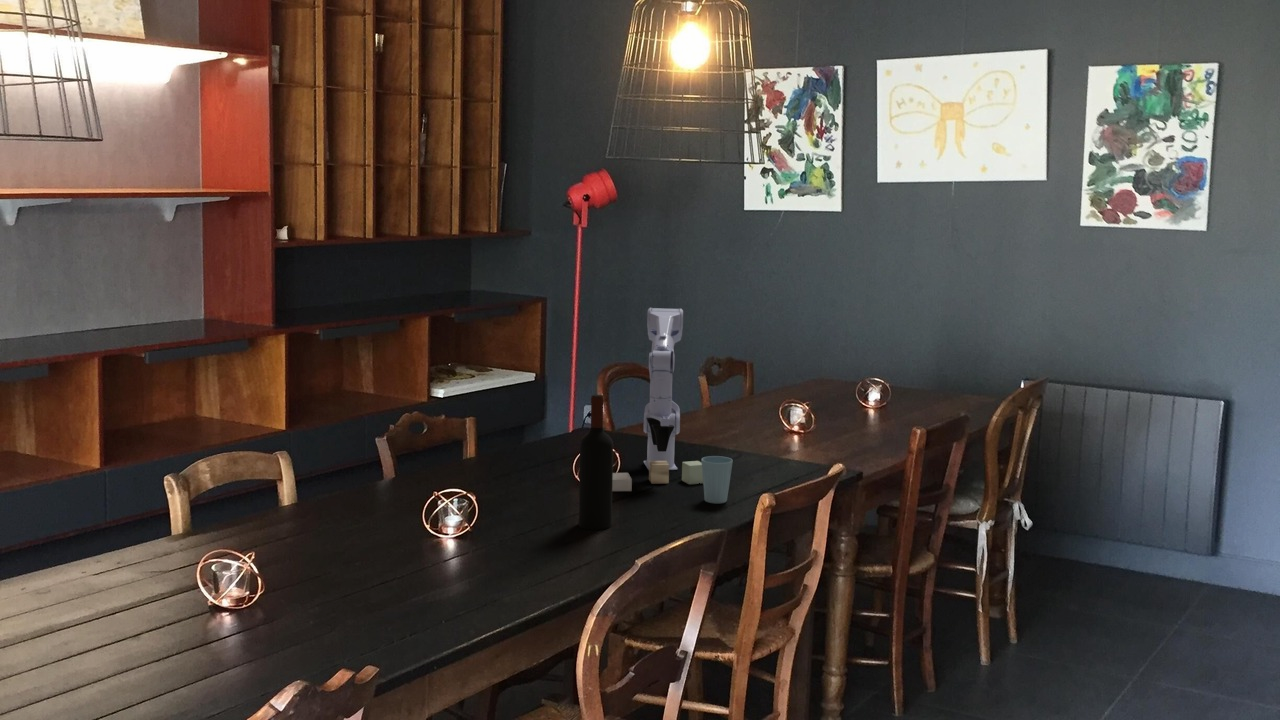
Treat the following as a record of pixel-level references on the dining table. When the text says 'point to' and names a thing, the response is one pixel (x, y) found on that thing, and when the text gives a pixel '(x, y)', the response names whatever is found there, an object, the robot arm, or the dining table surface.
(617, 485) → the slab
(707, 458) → the cup
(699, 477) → the sage block
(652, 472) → the oak block
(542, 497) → the dining table surface
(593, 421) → the wine bottle
